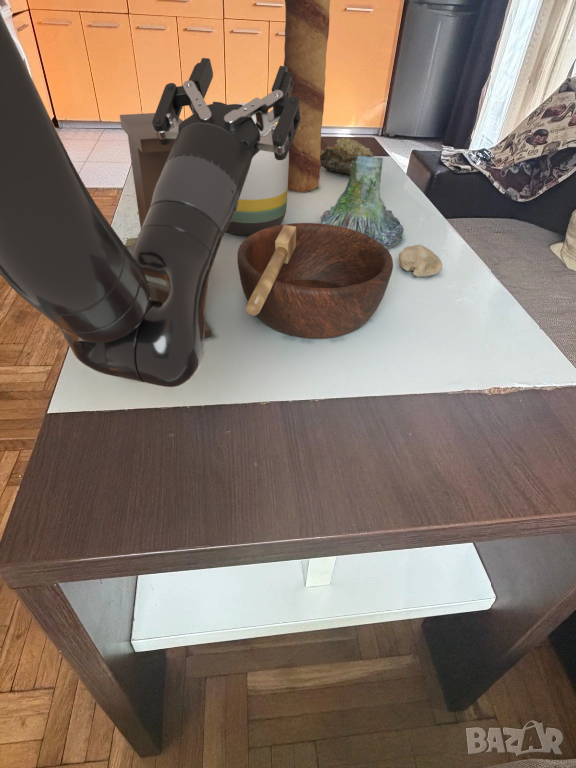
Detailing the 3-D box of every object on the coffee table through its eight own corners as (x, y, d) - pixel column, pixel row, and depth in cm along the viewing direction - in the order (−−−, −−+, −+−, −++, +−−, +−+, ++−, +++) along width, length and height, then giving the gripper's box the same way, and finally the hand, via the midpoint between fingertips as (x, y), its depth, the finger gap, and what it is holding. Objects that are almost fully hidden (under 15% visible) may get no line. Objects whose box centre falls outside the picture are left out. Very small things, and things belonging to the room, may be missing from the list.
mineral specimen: (361, 165, 155) (365, 128, 149) (380, 179, 145) (386, 141, 139) (315, 167, 151) (318, 130, 145) (332, 182, 142) (335, 143, 135)
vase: (299, 235, 114) (306, 113, 99) (226, 247, 107) (222, 119, 92) (266, 208, 125) (268, 95, 110) (198, 217, 119) (190, 99, 104)
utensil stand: (215, 343, 81) (204, 134, 62) (163, 354, 78) (135, 139, 59) (192, 305, 89) (176, 111, 70) (145, 314, 86) (115, 114, 67)
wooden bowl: (381, 359, 79) (393, 300, 73) (221, 339, 82) (219, 279, 75) (384, 282, 99) (394, 230, 92) (254, 267, 101) (255, 215, 95)
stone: (410, 271, 108) (389, 252, 103) (435, 251, 106) (415, 230, 100) (423, 293, 104) (402, 274, 99) (450, 272, 101) (430, 251, 96)
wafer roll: (271, 182, 140) (276, -34, 111) (305, 177, 144) (319, -32, 116) (290, 195, 133) (300, -32, 104) (325, 189, 137) (345, -29, 109)
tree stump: (316, 249, 109) (320, 156, 102) (320, 234, 127) (324, 154, 120) (405, 253, 108) (416, 158, 100) (397, 237, 126) (405, 156, 118)
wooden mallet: (283, 224, 81) (296, 226, 81) (283, 245, 84) (295, 246, 84) (242, 300, 68) (257, 303, 68) (244, 322, 71) (258, 324, 70)
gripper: (266, 168, 45) (309, 40, 51) (117, 148, 48) (173, 28, 53) (275, 225, 52) (312, 106, 58) (144, 205, 55) (192, 93, 60)
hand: (246, 69), depth 56 cm, fingers open, 8 cm apart
